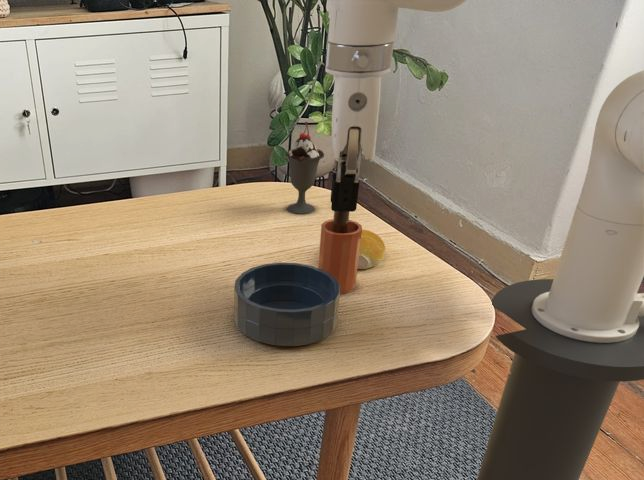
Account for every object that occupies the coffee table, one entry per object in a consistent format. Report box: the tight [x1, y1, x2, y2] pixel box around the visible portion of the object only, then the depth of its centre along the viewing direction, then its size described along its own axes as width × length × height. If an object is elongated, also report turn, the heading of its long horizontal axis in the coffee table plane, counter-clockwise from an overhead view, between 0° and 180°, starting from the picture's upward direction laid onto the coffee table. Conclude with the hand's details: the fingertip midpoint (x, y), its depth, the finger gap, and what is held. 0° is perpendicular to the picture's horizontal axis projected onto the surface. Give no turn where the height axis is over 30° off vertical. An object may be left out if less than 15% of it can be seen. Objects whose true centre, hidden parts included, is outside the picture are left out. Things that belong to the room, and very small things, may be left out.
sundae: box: [284, 121, 325, 215], centre depth 113 cm, size 7×7×15 cm
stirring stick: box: [332, 164, 350, 233], centre depth 88 cm, size 2×2×16 cm
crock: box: [317, 218, 363, 295], centre depth 90 cm, size 5×6×9 cm
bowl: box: [233, 262, 341, 347], centre depth 84 cm, size 13×13×6 cm
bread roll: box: [357, 229, 386, 270], centre depth 99 cm, size 8×9×4 cm
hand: (342, 205), depth 86 cm, fingers closed on stirring stick, 2 cm apart
